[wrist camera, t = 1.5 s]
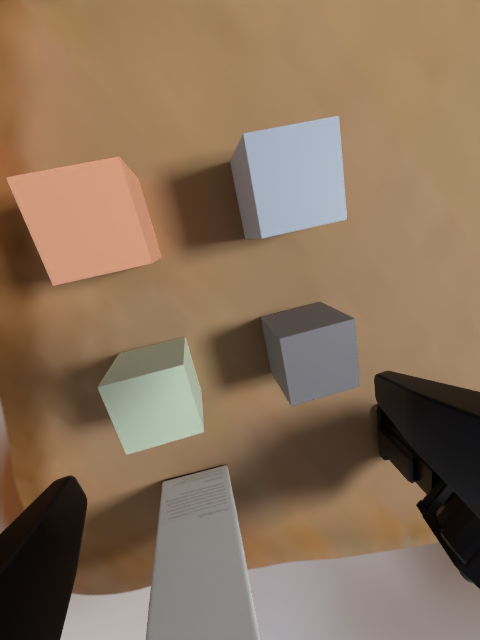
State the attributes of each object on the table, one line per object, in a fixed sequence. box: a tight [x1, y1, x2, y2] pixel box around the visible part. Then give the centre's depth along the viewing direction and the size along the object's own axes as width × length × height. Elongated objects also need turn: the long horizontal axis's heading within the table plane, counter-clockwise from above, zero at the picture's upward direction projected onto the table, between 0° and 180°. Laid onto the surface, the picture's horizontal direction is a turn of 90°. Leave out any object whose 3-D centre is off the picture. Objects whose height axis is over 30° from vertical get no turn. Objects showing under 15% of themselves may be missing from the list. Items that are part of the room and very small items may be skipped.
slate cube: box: [230, 116, 347, 239], centre depth 17 cm, size 5×5×5 cm
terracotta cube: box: [6, 157, 162, 286], centre depth 15 cm, size 5×5×5 cm
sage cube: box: [97, 337, 204, 455], centre depth 19 cm, size 5×5×5 cm
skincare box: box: [146, 465, 261, 640], centre depth 19 cm, size 6×4×12 cm
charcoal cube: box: [260, 302, 360, 406], centre depth 20 cm, size 5×5×5 cm
